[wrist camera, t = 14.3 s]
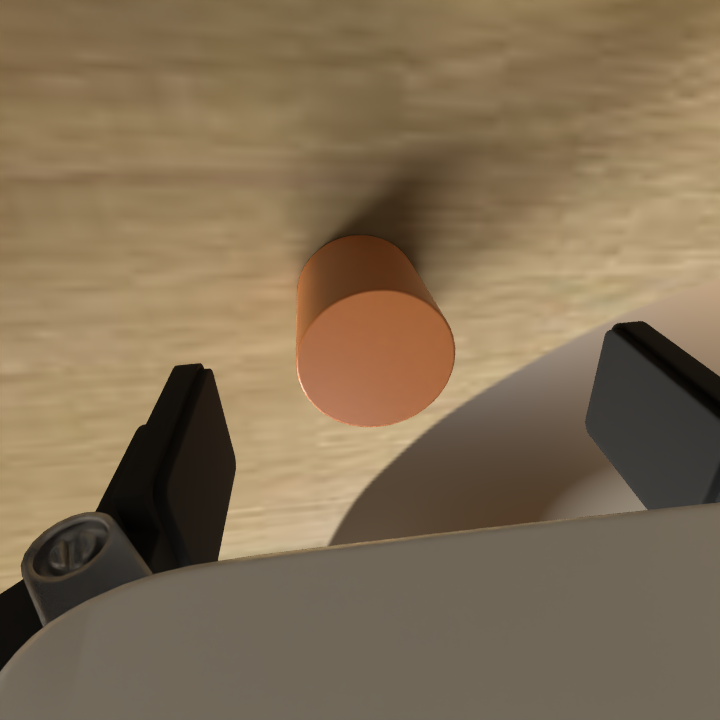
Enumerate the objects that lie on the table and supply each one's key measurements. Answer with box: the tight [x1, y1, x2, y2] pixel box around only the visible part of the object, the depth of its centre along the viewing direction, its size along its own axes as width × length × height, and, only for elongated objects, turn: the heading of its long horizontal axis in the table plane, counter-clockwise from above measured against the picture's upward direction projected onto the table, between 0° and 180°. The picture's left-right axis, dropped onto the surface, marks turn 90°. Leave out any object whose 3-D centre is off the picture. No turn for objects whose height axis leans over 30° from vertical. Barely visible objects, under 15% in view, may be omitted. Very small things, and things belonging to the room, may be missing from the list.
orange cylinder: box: [296, 235, 455, 427], centre depth 15 cm, size 4×4×5 cm
